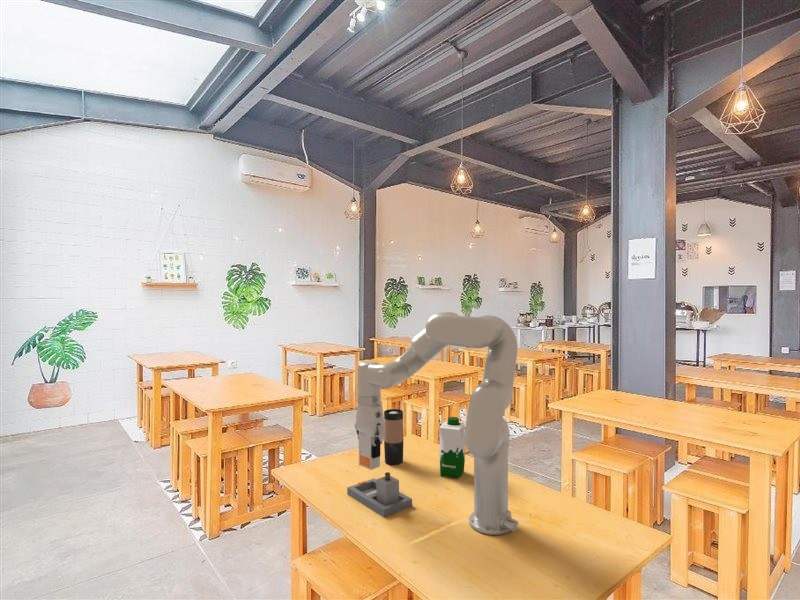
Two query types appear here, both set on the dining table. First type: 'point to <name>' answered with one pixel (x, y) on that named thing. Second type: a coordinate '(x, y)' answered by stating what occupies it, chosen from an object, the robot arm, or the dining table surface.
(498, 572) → the dining table surface
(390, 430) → the travel mug
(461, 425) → the milk carton
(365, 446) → the skincare box
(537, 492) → the dining table surface
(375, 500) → the pdu strip
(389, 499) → the single plug
